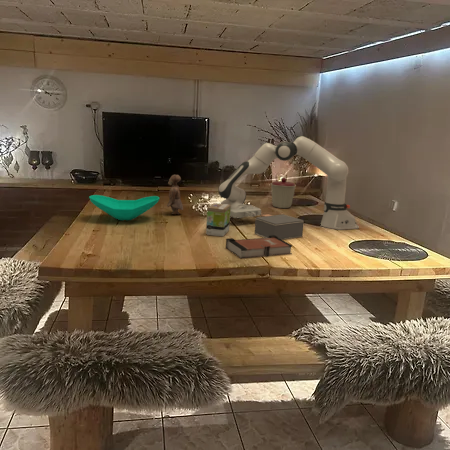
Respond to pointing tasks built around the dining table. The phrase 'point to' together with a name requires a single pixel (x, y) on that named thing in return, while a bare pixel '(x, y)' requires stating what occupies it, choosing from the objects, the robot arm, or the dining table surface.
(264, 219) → the lid
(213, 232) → the tea box
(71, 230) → the dining table surface
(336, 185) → the robot arm
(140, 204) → the table top decor
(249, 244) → the book
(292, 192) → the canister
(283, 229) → the box
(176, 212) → the clay figurine
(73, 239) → the dining table surface
